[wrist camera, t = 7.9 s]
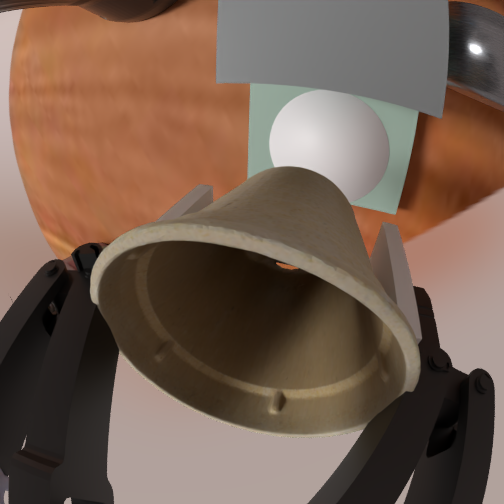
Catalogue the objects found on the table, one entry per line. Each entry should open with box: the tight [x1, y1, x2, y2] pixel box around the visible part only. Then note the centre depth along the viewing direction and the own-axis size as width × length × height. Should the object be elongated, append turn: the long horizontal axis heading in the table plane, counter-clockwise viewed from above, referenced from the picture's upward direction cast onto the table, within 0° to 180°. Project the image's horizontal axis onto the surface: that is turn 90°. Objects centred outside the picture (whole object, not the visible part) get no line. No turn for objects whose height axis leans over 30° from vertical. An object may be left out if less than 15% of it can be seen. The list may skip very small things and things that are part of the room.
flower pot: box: [90, 166, 421, 438], centre depth 10 cm, size 9×9×9 cm
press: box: [216, 0, 449, 215], centre depth 15 cm, size 15×17×19 cm
